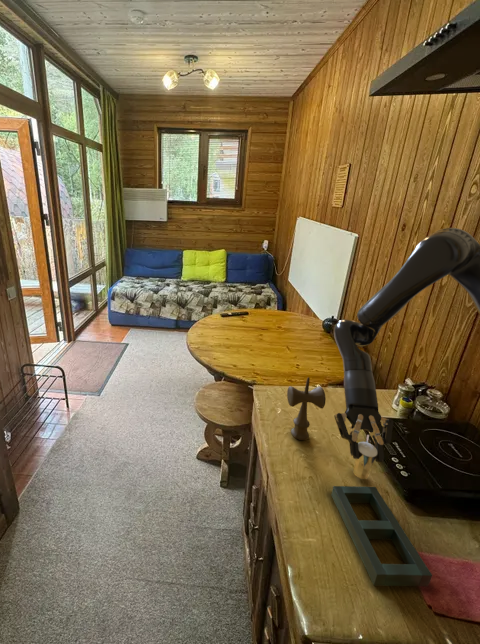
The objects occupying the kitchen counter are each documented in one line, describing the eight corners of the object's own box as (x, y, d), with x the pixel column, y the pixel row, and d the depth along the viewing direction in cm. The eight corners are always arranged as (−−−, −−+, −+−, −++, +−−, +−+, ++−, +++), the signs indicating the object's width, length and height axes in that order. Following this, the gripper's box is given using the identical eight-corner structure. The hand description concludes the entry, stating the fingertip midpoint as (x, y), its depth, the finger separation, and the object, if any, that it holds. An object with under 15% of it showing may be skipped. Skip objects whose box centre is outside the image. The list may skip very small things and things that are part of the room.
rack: (372, 496, 73) (375, 486, 72) (428, 586, 56) (432, 575, 55) (331, 495, 73) (333, 485, 72) (373, 585, 56) (377, 574, 55)
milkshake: (370, 468, 80) (378, 438, 77) (370, 484, 76) (379, 452, 72) (350, 462, 82) (358, 431, 79) (350, 477, 78) (358, 445, 74)
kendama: (319, 443, 89) (330, 383, 83) (285, 442, 89) (294, 382, 83) (312, 429, 95) (322, 372, 89) (280, 427, 95) (288, 371, 89)
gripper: (336, 384, 80) (342, 456, 73) (395, 389, 78) (407, 464, 71) (327, 389, 87) (332, 456, 80) (382, 395, 85) (392, 464, 77)
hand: (367, 459), depth 75 cm, fingers closed on milkshake, 4 cm apart
